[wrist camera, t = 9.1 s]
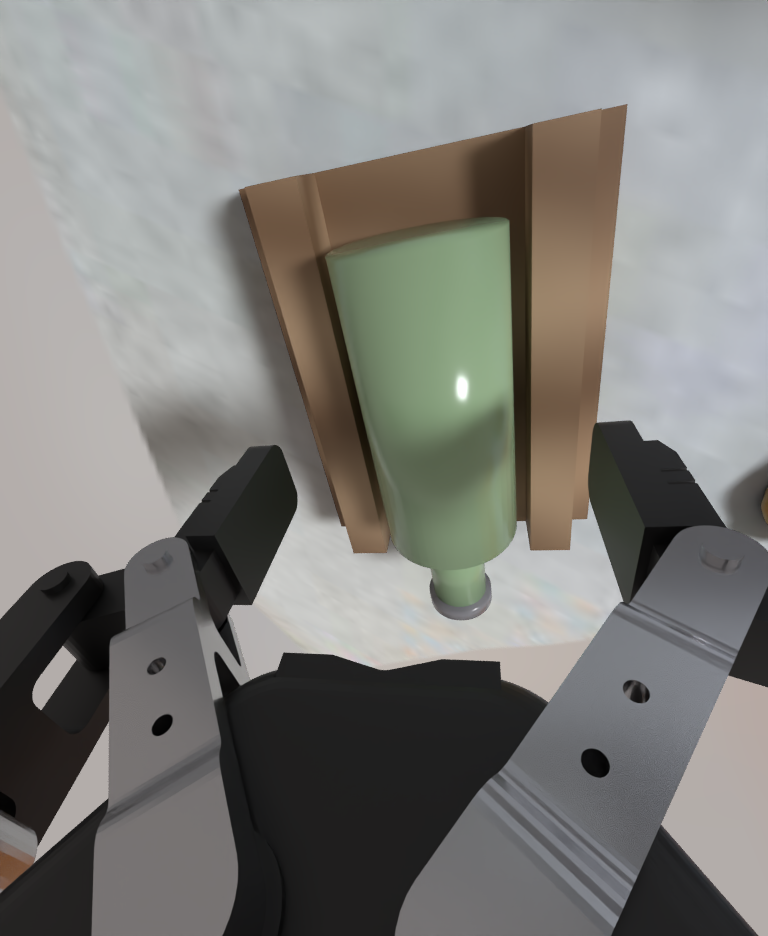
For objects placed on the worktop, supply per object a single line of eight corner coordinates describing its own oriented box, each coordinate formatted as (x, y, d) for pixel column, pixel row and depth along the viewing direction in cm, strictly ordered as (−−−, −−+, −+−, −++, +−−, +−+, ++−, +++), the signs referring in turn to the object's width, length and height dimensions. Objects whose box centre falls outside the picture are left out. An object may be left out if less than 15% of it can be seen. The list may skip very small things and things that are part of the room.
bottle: (350, 238, 14) (299, 272, 10) (506, 209, 13) (513, 237, 9) (414, 554, 22) (398, 640, 18) (515, 555, 21) (522, 647, 17)
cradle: (253, 187, 15) (212, 194, 12) (614, 107, 12) (650, 97, 10) (347, 510, 23) (332, 553, 20) (581, 501, 20) (596, 549, 18)
